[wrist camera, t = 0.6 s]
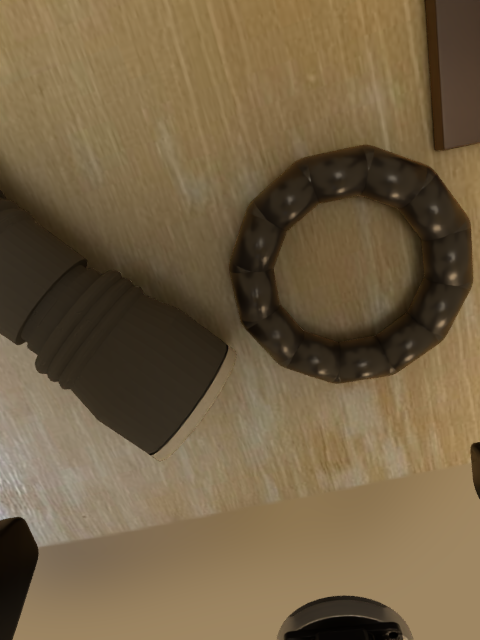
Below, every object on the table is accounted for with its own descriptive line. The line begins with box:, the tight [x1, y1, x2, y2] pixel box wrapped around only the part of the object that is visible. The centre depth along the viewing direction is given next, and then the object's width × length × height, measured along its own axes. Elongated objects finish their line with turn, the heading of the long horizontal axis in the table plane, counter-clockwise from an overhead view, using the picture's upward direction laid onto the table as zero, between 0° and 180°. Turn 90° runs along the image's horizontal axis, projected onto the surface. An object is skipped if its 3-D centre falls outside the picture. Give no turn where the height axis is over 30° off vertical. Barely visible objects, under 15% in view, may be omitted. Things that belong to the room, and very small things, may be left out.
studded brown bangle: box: [229, 145, 473, 384], centre depth 19 cm, size 10×10×2 cm
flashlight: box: [0, 190, 237, 461], centre depth 18 cm, size 15×5×5 cm, turn 52°
